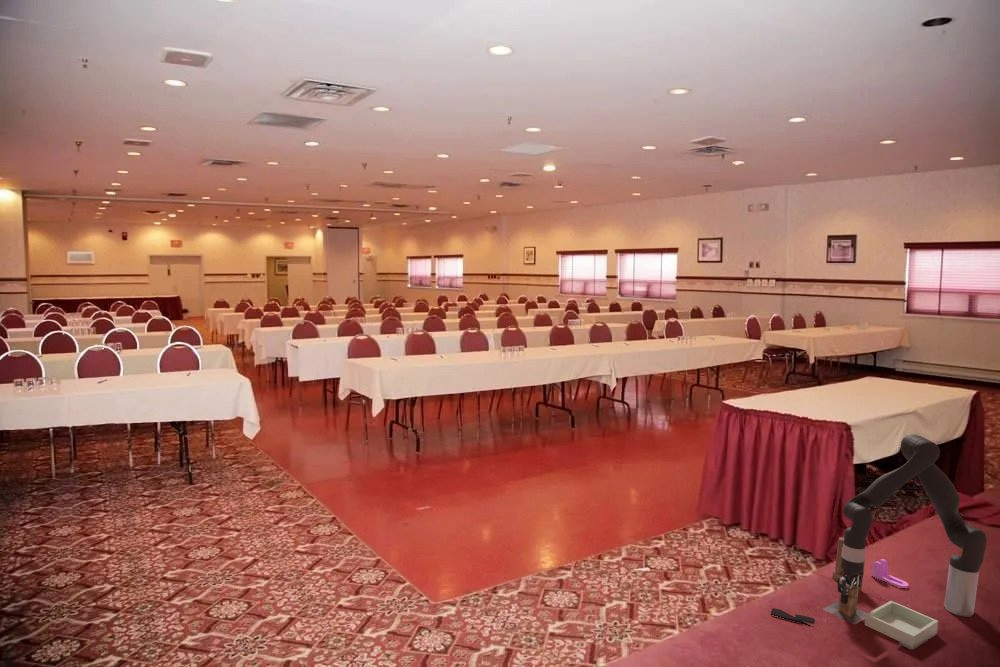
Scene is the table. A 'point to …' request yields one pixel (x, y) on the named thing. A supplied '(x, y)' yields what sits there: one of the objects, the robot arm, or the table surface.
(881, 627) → the tray
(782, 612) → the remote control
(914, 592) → the table surface
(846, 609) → the strut
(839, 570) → the brown wooden angled stand
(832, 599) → the table surface
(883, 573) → the bracket
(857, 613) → the stud plate
